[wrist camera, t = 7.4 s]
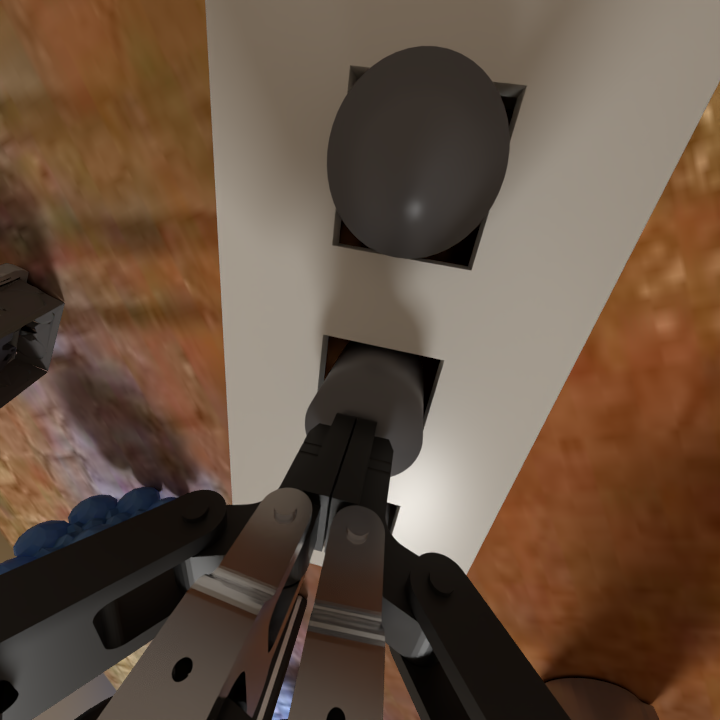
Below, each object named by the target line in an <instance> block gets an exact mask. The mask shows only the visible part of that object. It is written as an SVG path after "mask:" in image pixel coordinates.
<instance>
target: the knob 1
mask: <svg viewBox="0 0 720 720" xmlns="http://www.w3.org/2000/svg"><path fill="white" fill-rule="evenodd" d="M509 151H510V133H509V125H508V118H507V114H506V110H505V106H504V104H503V101H502V99H501V96H500V94H499V92H498V90H497V88H496V87H495V85H494V83H493V82H492V80H491V79H490V78H489V76H488V75H487V74H486V73H485V71H484V70H483V69H482V68H481V67H479V66H478V65H477V64H476V63H475V62H474V61H472V60H471V59H469V58H468V57H466V56H464V55H463V54H461V53H458V52H456V51H453V50H451V49H448V48H442V47H437V46H418V47H412V48H407V49H404V50H401V51H398V52H395V53H393V54H391V55H389V56H387V57H385V58H383V59H382V60H380V61H379V62H377V63H376V64H375V65H373V66H372V67H371V68H369V69H368V70H367V71H366V72H365V73H364V74H363V75H362V76H361V77H360V78H359V79H358V80H357V82H356V83H355V84H354V85H353V86H352V88H351V89H350V91H349V92H348V94H347V95H346V97H345V98H344V100H343V102H342V104H341V106H340V108H339V110H338V112H337V114H336V117H335V120H334V122H333V125H332V129H331V133H330V137H329V143H328V150H327V176H328V183H329V188H330V193H331V196H332V199H333V202H334V205H335V207H336V209H337V211H338V214H339V215H340V217H341V219H342V220H343V222H344V224H345V225H346V226H347V228H348V229H349V230H350V231H351V233H352V234H353V235H354V236H355V237H356V238H357V239H358V240H360V241H361V242H362V243H364V244H365V245H366V246H368V247H370V248H371V249H373V250H375V251H377V252H379V253H382V254H384V255H387V256H391V257H395V258H404V259H412V258H422V257H428V256H431V255H434V254H438V253H440V252H442V251H444V250H447V249H449V248H450V247H452V246H454V245H455V244H457V243H459V242H460V241H461V240H463V239H464V238H465V237H467V236H468V235H469V234H470V233H471V232H472V231H473V230H474V229H475V228H476V227H477V226H478V225H479V224H480V222H481V221H482V220H483V219H484V218H485V216H486V215H487V213H488V212H489V210H490V209H491V207H492V205H493V204H494V202H495V200H496V198H497V196H498V194H499V192H500V189H501V186H502V183H503V181H504V178H505V174H506V170H507V165H508V158H509Z"/></svg>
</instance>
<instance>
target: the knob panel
mask: <svg viewBox="0 0 720 720" xmlns="http://www.w3.org/2000/svg"><path fill="white" fill-rule="evenodd" d="M205 3H206V22H207V40H208V59H209V77H210V96H211V114H212V133H213V151H214V170H215V188H216V207H217V225H218V244H219V262H220V281H221V300H222V318H223V337H224V355H225V374H226V392H227V411H228V429H229V448H230V466H231V485H232V503H233V505H242V504H253V503H258V502H260V501H262V500H263V499H264V498H265V497H266V496H267V495H268V494H269V493H271V492H273V491H275V490H277V489H278V488H279V487H280V485H281V483H282V481H283V480H284V478H285V476H286V474H287V472H288V470H289V468H290V466H291V464H292V463H293V461H294V459H295V457H296V455H297V453H298V452H299V449H300V447H301V446H302V444H303V443H304V440H305V438H306V436H307V435H306V431H305V416H306V412H307V409H308V407H309V405H310V403H311V402H312V400H313V398H314V397H315V395H316V394H317V392H318V390H319V389H320V387H321V385H322V384H323V382H324V375H325V366H326V357H327V348H328V338H329V336H332V337H337V338H342V339H346V340H351V341H356V342H361V343H365V344H370V345H375V346H379V347H384V348H389V349H393V350H398V351H403V352H407V353H412V354H417V355H421V356H426V357H431V358H436V359H440V363H439V367H438V370H437V373H436V377H435V380H434V384H433V387H432V391H431V394H430V397H429V401H428V404H427V408H426V411H425V414H424V418H423V443H422V448H421V451H420V453H419V456H418V457H417V459H416V460H415V462H414V463H413V464H412V465H411V466H410V467H409V468H408V469H406V470H405V471H403V472H402V473H400V474H397V475H395V476H392V477H390V483H389V491H388V499H387V503H390V510H389V518H388V526H387V527H388V529H389V531H390V533H391V534H392V536H393V537H394V538H395V539H396V540H397V541H398V542H399V543H400V544H401V545H403V546H404V547H405V548H407V549H409V550H410V551H412V552H413V553H415V554H416V555H418V556H420V555H422V554H425V553H430V552H434V553H440V554H442V555H445V556H447V557H449V558H450V559H452V560H453V561H454V562H455V563H456V564H458V565H459V567H460V568H461V569H462V570H463V571H464V573H465V574H467V572H468V570H469V568H470V566H471V565H472V563H473V561H474V559H475V557H476V555H477V553H478V551H479V549H480V547H481V545H482V543H483V541H484V539H485V537H486V535H487V533H488V531H489V529H490V528H491V526H492V524H493V522H494V520H495V518H496V516H497V514H498V512H499V510H500V508H501V506H502V504H503V502H504V500H505V498H506V496H507V494H508V492H509V490H510V489H511V487H512V485H513V483H514V481H515V479H516V477H517V475H518V473H519V471H520V469H521V467H522V465H523V463H524V461H525V459H526V457H527V455H528V453H529V452H530V450H531V448H532V446H533V444H534V442H535V440H536V438H537V436H538V434H539V432H540V430H541V428H542V426H543V424H544V422H545V420H546V418H547V416H548V414H549V413H550V411H551V409H552V407H553V405H554V403H555V401H556V399H557V397H558V395H559V393H560V391H561V389H562V387H563V385H564V383H565V381H566V379H567V377H568V376H569V374H570V372H571V370H572V368H573V366H574V364H575V362H576V360H577V358H578V356H579V354H580V352H581V350H582V348H583V346H584V344H585V342H586V340H587V338H588V337H589V335H590V333H591V331H592V329H593V327H594V325H595V323H596V321H597V319H598V317H599V315H600V313H601V311H602V309H603V307H604V305H605V303H606V301H607V299H608V298H609V296H610V294H611V292H612V290H613V288H614V286H615V284H616V282H617V280H618V278H619V276H620V274H621V272H622V270H623V268H624V266H625V264H626V262H627V261H628V259H629V257H630V255H631V253H632V251H633V249H634V247H635V245H636V243H637V241H638V239H639V237H640V235H641V233H642V231H643V229H644V227H645V225H646V223H647V222H648V220H649V218H650V216H651V214H652V212H653V210H654V208H655V206H656V204H657V202H658V200H659V198H660V196H661V194H662V192H663V190H664V188H665V186H666V185H667V183H668V181H669V179H670V177H671V175H672V173H673V171H674V169H675V167H676V165H677V163H678V161H679V159H680V157H681V155H682V153H683V151H684V149H685V147H686V146H687V144H688V142H689V140H690V138H691V136H692V134H693V132H694V130H695V128H696V126H697V124H698V122H699V120H700V118H701V116H702V114H703V112H704V110H705V109H706V107H707V105H708V103H709V101H710V99H711V97H712V95H713V93H714V91H715V89H716V87H717V85H718V83H719V81H720V0H205ZM418 46H437V47H442V48H448V49H451V50H453V51H456V52H458V53H461V54H463V55H464V56H466V57H468V58H469V59H471V60H472V61H474V62H475V63H476V64H477V65H478V66H479V67H481V68H482V69H483V70H484V71H485V73H486V74H487V75H488V76H489V78H490V79H491V80H492V82H493V83H494V85H495V87H496V88H497V90H498V92H499V94H500V96H501V99H502V101H503V104H504V106H505V109H510V110H514V111H513V115H512V118H511V122H510V125H509V133H510V151H509V158H508V165H507V170H506V174H505V178H504V181H503V183H502V186H501V189H500V192H499V194H498V196H497V198H496V200H495V202H494V204H493V205H492V207H491V209H490V210H489V212H488V213H487V215H486V216H485V218H484V219H483V220H482V221H481V224H480V227H479V231H478V234H477V237H476V241H475V244H474V248H473V251H472V254H471V258H470V261H469V265H468V266H463V265H457V264H452V263H446V262H441V261H435V260H430V259H424V258H412V259H404V258H395V257H391V256H387V255H384V254H382V253H379V252H377V251H375V250H373V249H368V248H363V247H357V246H351V245H346V244H340V243H339V238H340V229H341V220H342V219H341V217H340V215H339V214H338V211H337V209H336V207H335V205H334V202H333V199H332V196H331V193H330V188H329V183H328V176H327V150H328V143H329V137H330V133H331V129H332V125H333V122H334V120H335V117H336V114H337V112H338V110H339V108H340V106H341V104H342V102H343V100H344V98H345V97H346V95H347V94H348V92H349V91H350V89H351V88H352V86H353V85H354V84H355V83H356V82H357V80H358V79H359V78H360V77H361V76H362V75H363V74H364V73H365V72H366V71H367V70H368V69H369V68H371V67H372V66H373V65H375V64H376V63H377V62H379V61H380V60H382V59H383V58H385V57H387V56H389V55H391V54H393V53H395V52H398V51H401V50H404V49H407V48H412V47H418ZM325 542H326V539H325ZM324 549H325V543H324V546H323V549H322V552H321V551H317V550H313V553H312V556H311V560H310V563H312V564H316V565H319V566H322V565H323V561H324V556H325V552H324Z"/></svg>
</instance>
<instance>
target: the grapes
mask: <svg viewBox="0 0 720 720" xmlns="http://www.w3.org/2000/svg"><path fill="white" fill-rule="evenodd" d="M174 499H176V498H175V497H167V498H163V499H160V494H159V491H157V490H156V489H154V488H152V487H141V488H135V489H133V490H132V491H130V492H128V493H126V494H125V495H124V496H123V497H122V498H121V499H120V500H119V501H118V502H117V499H116V498H114V497H112V496H111V495H96V496H91V497H89V498H87V499H85V500H83V501H81V502H80V503H79V504H78V505H77V506H75V507H74V508H73V509H72V511H71V513H70V515H69V517H68V520H69V523H67V522H65V521H57V520H51V521H46V522H42V523H39V524H37V525H35V526H34V527H32V528H30V529H28V530H27V531H26V532H25V533H24V534H22V535H21V536H20V537H19V538H18V540H17V542H16V543H15V545H14V547H13V548H14V555H15V556H17V557H16V558H13V559H10V560H6V561H5V562H3V563H1V564H0V575H1V574H3V573H6V572H8V571H10V570H13V569H15V568H17V567H19V566H22V565H24V564H26V563H29V562H31V561H33V560H36V559H38V558H40V557H42V556H45V555H47V554H49V553H52V552H54V551H56V550H59V549H61V548H63V547H66V546H68V545H70V544H72V543H75V542H77V541H79V540H82V539H84V538H86V537H89V536H91V535H93V534H96V533H98V532H100V531H102V530H105V529H107V528H109V527H112V526H114V525H116V524H119V523H121V522H123V521H125V520H128V519H130V518H132V517H135V516H137V515H139V514H142V513H144V512H146V511H149V510H151V509H153V508H155V507H158V506H160V505H162V504H165V503H167V502H169V501H172V500H174Z"/></svg>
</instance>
